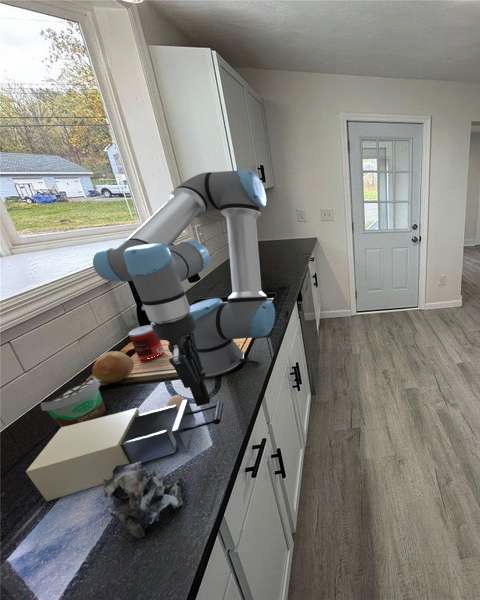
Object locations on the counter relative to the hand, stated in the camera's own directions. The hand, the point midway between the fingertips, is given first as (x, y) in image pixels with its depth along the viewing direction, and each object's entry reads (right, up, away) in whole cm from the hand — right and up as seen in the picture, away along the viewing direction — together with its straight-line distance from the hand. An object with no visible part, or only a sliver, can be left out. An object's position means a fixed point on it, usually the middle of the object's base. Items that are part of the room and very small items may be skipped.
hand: (203, 402), depth 77 cm
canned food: (-45, +4, +41) cm, 61 cm away
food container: (-38, -8, +10) cm, 40 cm away
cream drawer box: (-20, -13, -5) cm, 24 cm away
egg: (-13, -6, +10) cm, 18 cm away
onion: (-45, -1, +27) cm, 53 cm away
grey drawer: (-6, -9, 0) cm, 11 cm away
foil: (-2, -16, -15) cm, 22 cm away
